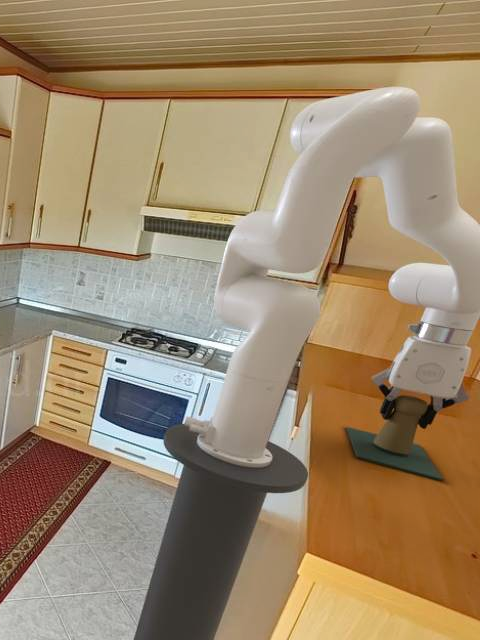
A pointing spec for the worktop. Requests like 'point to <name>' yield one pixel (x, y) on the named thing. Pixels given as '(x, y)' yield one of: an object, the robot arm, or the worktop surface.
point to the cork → (401, 425)
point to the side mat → (392, 455)
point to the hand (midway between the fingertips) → (403, 421)
